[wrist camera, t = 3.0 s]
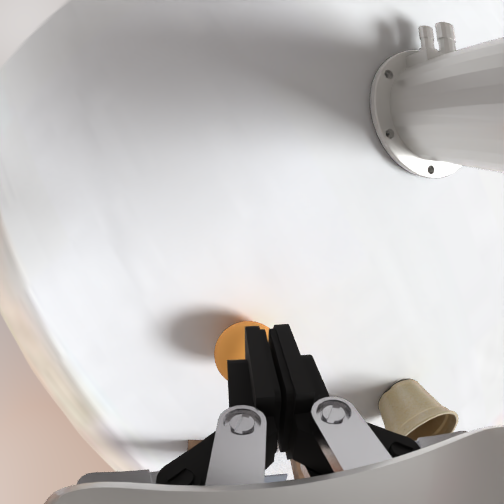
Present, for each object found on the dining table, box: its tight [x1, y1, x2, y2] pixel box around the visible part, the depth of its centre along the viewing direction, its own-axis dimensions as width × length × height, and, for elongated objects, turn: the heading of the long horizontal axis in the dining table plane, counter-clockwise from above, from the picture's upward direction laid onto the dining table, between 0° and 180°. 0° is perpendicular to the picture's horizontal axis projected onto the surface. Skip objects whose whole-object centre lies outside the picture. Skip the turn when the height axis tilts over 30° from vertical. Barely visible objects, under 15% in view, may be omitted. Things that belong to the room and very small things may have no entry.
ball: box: [214, 321, 270, 380], centre depth 27 cm, size 6×6×6 cm
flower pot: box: [379, 379, 458, 441], centre depth 31 cm, size 9×9×9 cm
